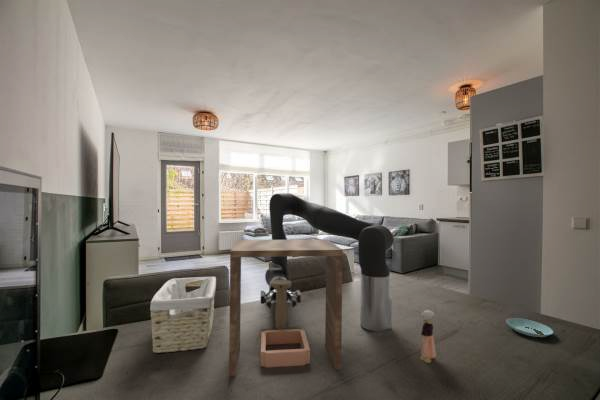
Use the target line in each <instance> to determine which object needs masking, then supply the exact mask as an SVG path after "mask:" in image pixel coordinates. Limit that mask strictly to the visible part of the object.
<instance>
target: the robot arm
mask: <svg viewBox="0 0 600 400" xmlns="http://www.w3.org/2000/svg"><path fill="white" fill-rule="evenodd" d="M286 215H291V216H296V217H298V218H301V219H304V220H305V221H306V222H307V224H309V225H310V226H311V227H312V228H314V229H316V230H318V231H320V232H323V233H325V234H328V235H331V236H338V237H342V238H347V239H352V240H355V241H358V248H357V249H358V251H357V252H358V265H359V267H360V320H359V322H360V324H359V325H360V326H361V327H362V328H363V329H366V331H367V330H368V331H371V332H384V331H387V330H390V329H391V330H392V324H393V323H392V319H393V317H392V316H393V315H392V314H393V313H392V311H393V310H392V308H393V306H392V305H393V300H392V298H390V273H391V272H390V270H391V269H390V266H389V265H388V264H387V257H386V255H387V254H386V252H387V251H388V250H389V249H390V248H392V246H393V245H394V239H395V238H394V235H393V233H392V232H391V230H390V229H389V228H388V227H386V226H385V225H383V224H382V225H380V224H376V223H372V222H368V221H363V220H361V219H357V218H355V217H352V216H350V215H348V214H346V213H343V212H341V211H338V210H336V209H333V208H330V207H327V206H325V205H321V204H318V203H315V202H314V203H313V202H309V201H307V200H305V199H303V198H301V197H299V196H297V195H295V194H293V193H289V192H283V193H282V192H280V193H279V192H278V193H274V194H273V195H272V196H271V197H270V198H269V220H270V228H271V229H270V231H271V240H288V237H287V235H286V233H285V231H284V223H283V222H284V216H286ZM270 262H271V264H273V265H277V266H280V267H278V268H277V267H270V268H268V269H267V270H266V272H265V275H264V278H265V282H266V283H265V284H267V285H268V288H269V289H268V292H266V291H264V290H260V304H262V305H264V304H265V307H267V308H268V309H271V307H272V306H271V304H274V303H276V289H275V288H273V287H272V281H274V280H289V281H291V274H290V269H289V264H288V257H270ZM301 296H302V294H301V291H300V289H297V290H295V291H292V290H291V287H290V288H288V289H287V304H288V303H289V304H291V307H292V308H295V306H297V305H298V304H299V303H300V304H301V302H302V301H301V300H302V297H301Z"/></svg>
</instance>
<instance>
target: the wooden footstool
mask: <svg viewBox="0 0 600 400" xmlns="http://www.w3.org/2000/svg"><path fill="white" fill-rule="evenodd" d="M229 253H230V254H229V255H230V259H229V260H230V262H229V265H230V266H229V267H230V268H229V334H228V335H229V339H228V340H229V341H228V342H229V345H228V347H229V351H228V352H229V353H228V354H229V355H228V358H229V360H228V368H229V369H228V377H236V376H237V369H238V365H239V364H238V363H239V358H240V351H241V313H242V312H241V310H242V309H241V303H242V302H241V299H242V298H241V297H242V296H241V293H242V292H241V290H242V285H241V284H242V283H241V282H242V258H271V257H287V258H288V257H293V258H294V257H325V319H324V320H325V321H324V322H325V326H324V327H325V328H324V329H325V330H324V333H325V334H324V335H325V336H324V339H325V341H324V346H325V349H326V351H327V352H328V353H327V354H328V356H329V358H330V361H331V363H332V366H333V368H334V370H335V371H339V370H340V371H341V370H342V339H343V338H342V335H343V334H342V328H343V327H342V326H343V324H342V323H343V318H342V317H343V314H342V313H343V249H342V248H340V246H337V244H335V243H333V242H331V241H330V240H328V239H287V240H272V239H237V240H236V242H235V243H234V245H233V246H232V248H231V249H230V251H229Z"/></svg>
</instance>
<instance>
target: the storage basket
mask: <svg viewBox="0 0 600 400" xmlns="http://www.w3.org/2000/svg"><path fill="white" fill-rule="evenodd" d="M186 287H198V288H196V289H194V290H191V291H187V290H186ZM216 287H217V277H216V276H199V277H196V276H195V277H182V278H175V277H174V278H171V279H169V280H166V282H165V283H163V285H162V286H161V288H159V289H158V291H157V292H156V293H155V294H154V295H153V297H152V299H151V301H150V307H149V308H150V309H149V310H150V318H151V320H150V321H151V333H152V335H151V339H152V349H151V351H152V352H153V353H157V354H158V353H170V352H172V353H175V352H179V351H181V352H185V351H189V350H192V351H194V350H198V349H204V348H206V347H207V346H208V343H209V340H210V336H211V334H212V329H213V323H214V322H213V321H214V312H215V309H214V307H215V306H214V305H215V296H216V295H215V294H216Z"/></svg>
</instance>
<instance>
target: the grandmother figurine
mask: <svg viewBox="0 0 600 400" xmlns="http://www.w3.org/2000/svg"><path fill="white" fill-rule="evenodd" d="M420 317H421V318H422V319H423V321H424V323H423V325H422V330H421V334H420V339H419V341H420V343H421V344H422V345H421V356H420V357H419V358H420V360H421V361H423V362H425V363H428V364H430V363H432V360H434V359H435V358H436V357H437V352H436V346H435V339H434V326H433V323H434V321H435V313H434V312H433V311H432V310H430V309H425V310H423V311H422V312H421V314H420Z"/></svg>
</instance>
